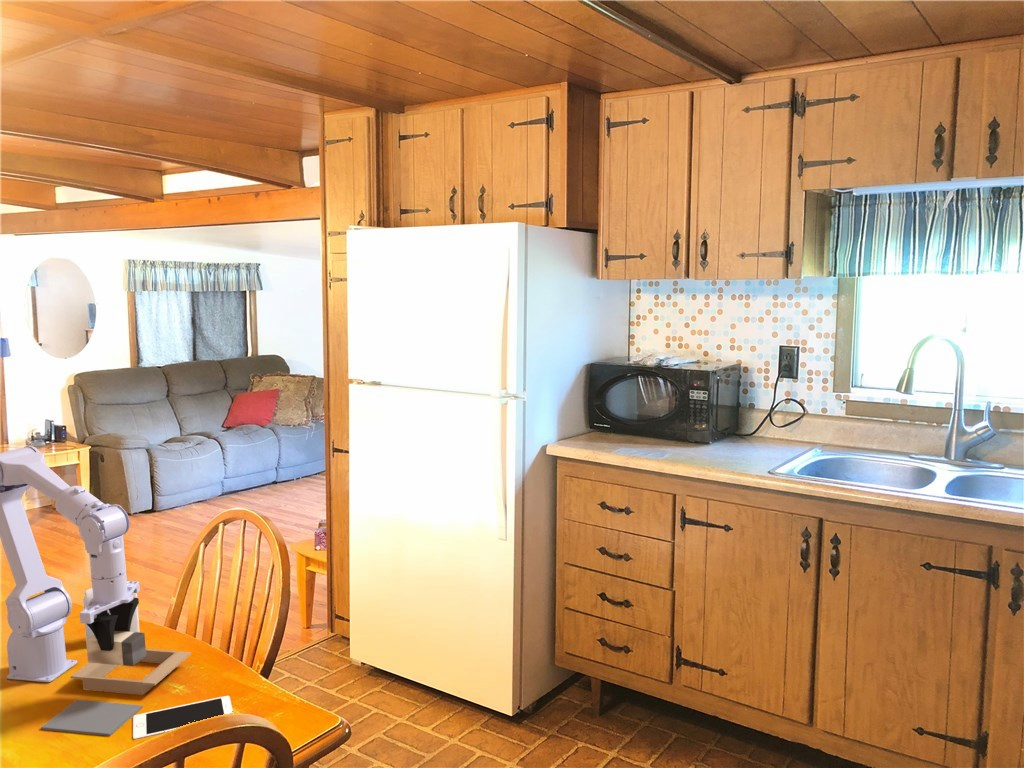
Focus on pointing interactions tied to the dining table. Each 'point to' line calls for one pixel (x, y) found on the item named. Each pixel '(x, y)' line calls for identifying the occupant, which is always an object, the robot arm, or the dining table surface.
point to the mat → (92, 717)
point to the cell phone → (178, 716)
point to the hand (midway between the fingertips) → (114, 643)
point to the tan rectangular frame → (98, 682)
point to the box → (118, 649)
